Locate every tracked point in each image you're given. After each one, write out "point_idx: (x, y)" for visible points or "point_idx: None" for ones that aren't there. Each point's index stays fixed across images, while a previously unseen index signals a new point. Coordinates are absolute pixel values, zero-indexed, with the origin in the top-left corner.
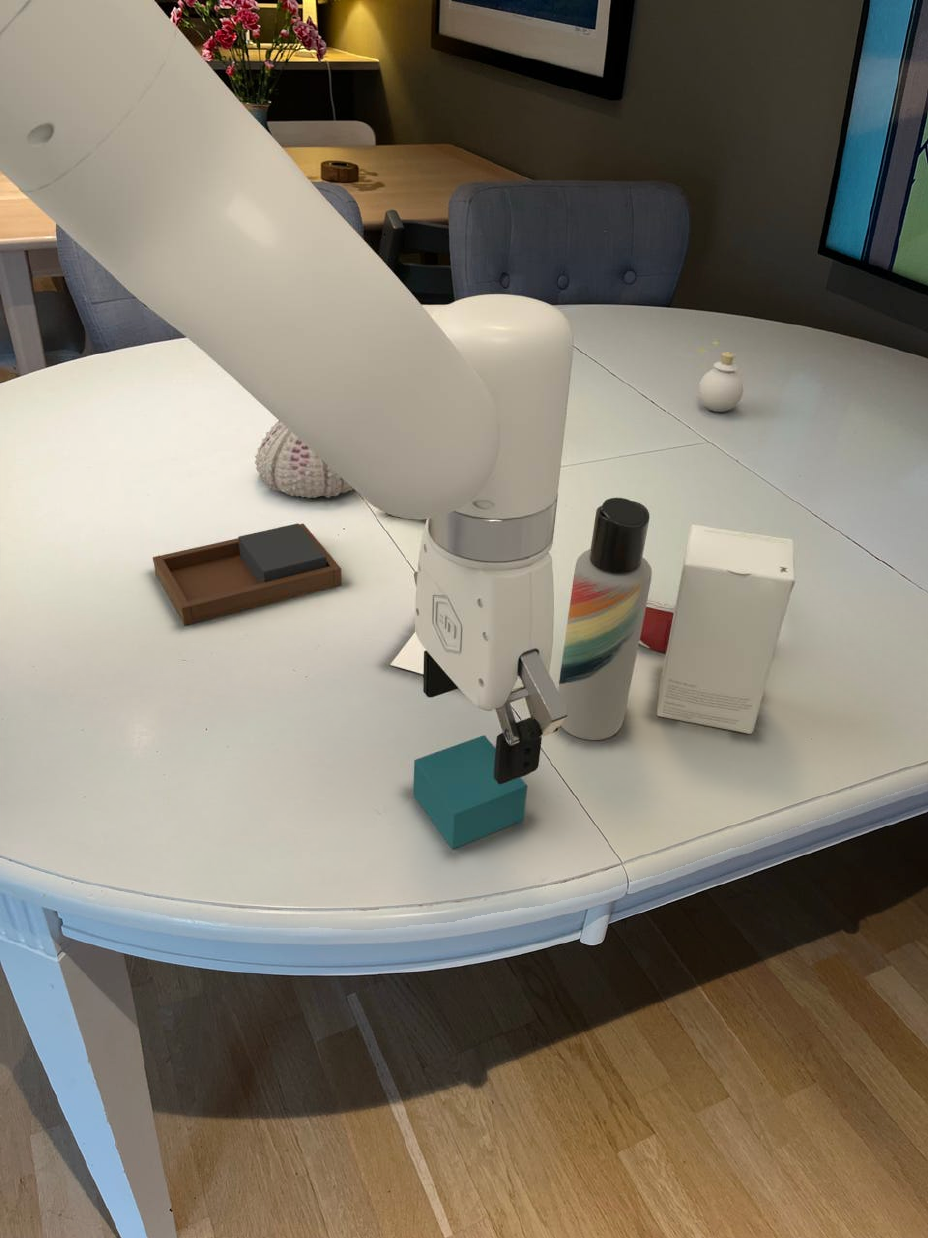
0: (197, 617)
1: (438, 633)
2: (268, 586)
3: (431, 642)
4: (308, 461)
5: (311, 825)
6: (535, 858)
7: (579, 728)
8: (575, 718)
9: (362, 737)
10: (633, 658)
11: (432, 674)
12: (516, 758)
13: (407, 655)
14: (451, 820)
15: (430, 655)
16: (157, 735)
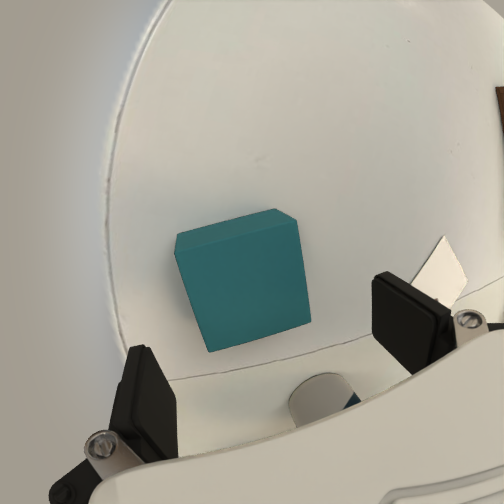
0: (501, 97)
1: (473, 485)
2: None
3: (466, 401)
4: None
5: (259, 79)
6: (151, 317)
7: (302, 394)
8: (310, 397)
9: (375, 176)
10: None
11: (403, 305)
12: (112, 411)
13: (446, 254)
14: (180, 244)
15: (437, 321)
16: (404, 7)
